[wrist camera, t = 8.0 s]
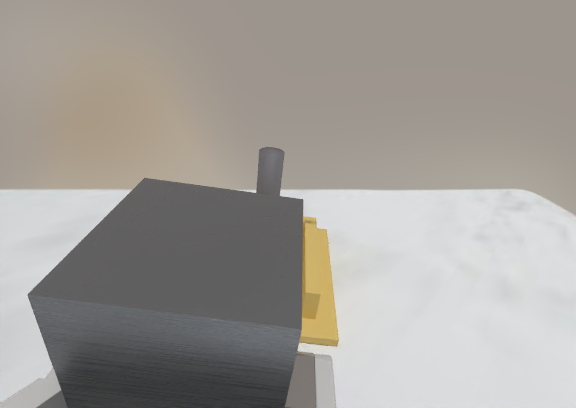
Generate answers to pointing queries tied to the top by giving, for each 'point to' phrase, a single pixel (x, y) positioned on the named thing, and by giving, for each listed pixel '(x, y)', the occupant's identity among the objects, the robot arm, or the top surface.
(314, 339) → the keeper
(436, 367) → the top surface
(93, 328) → the gray rectangular block
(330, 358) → the robot arm
